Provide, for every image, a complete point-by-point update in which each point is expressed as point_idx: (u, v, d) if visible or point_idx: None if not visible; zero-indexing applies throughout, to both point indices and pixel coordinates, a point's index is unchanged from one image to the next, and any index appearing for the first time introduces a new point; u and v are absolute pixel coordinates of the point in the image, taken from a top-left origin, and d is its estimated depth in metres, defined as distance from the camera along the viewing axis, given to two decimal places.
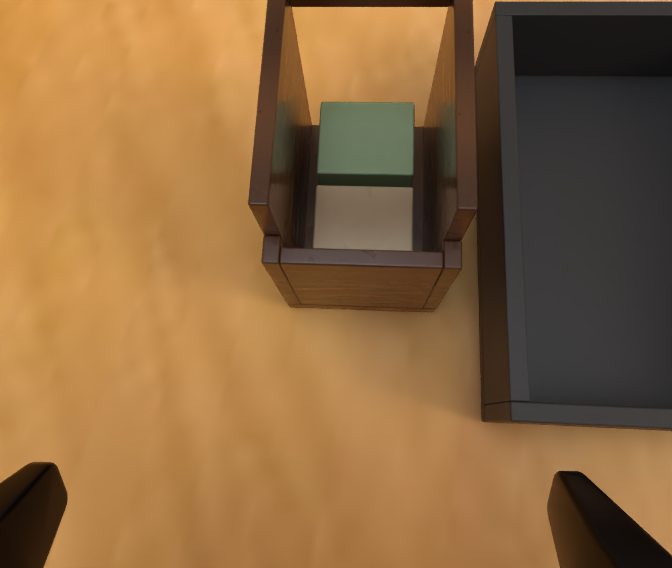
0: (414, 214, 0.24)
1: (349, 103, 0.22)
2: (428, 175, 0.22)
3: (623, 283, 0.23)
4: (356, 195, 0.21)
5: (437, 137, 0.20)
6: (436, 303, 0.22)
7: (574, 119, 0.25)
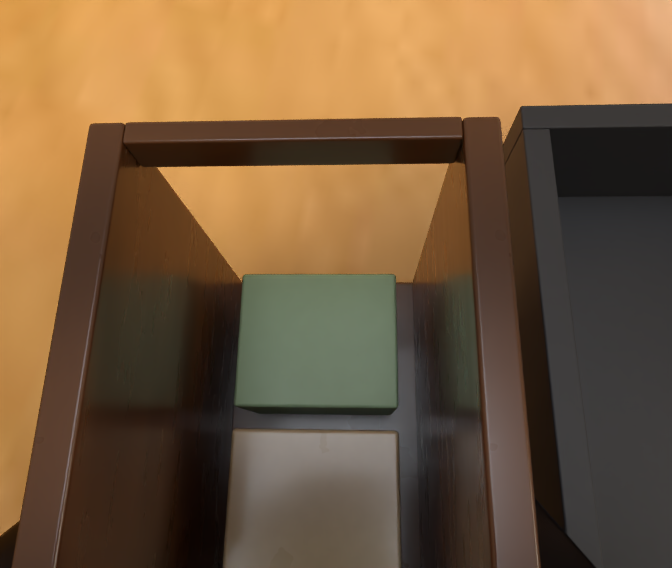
0: (404, 433, 0.15)
1: (289, 277, 0.14)
2: (423, 392, 0.13)
3: None
4: (300, 449, 0.12)
5: (438, 370, 0.11)
6: None
7: (641, 265, 0.16)
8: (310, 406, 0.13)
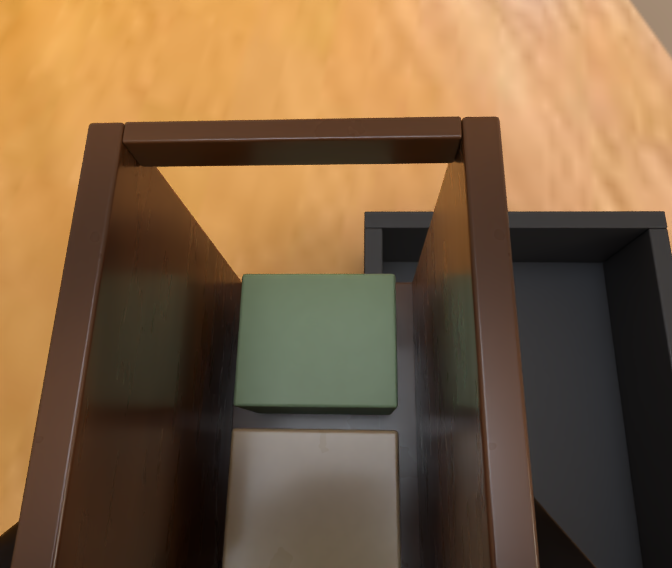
0: (403, 433, 0.15)
1: (288, 277, 0.14)
2: (422, 392, 0.13)
3: None
4: (300, 448, 0.12)
5: (437, 369, 0.11)
6: None
7: None
8: (310, 406, 0.13)
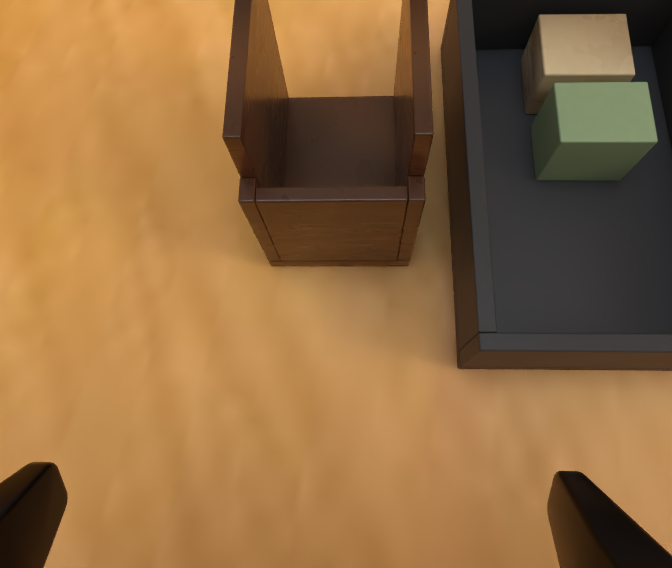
0: (387, 175, 0.25)
1: None
2: (397, 134, 0.24)
3: (587, 234, 0.24)
4: None
5: (402, 91, 0.21)
6: (408, 252, 0.23)
7: None
8: (597, 82, 0.23)
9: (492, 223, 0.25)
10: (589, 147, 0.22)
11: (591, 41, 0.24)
